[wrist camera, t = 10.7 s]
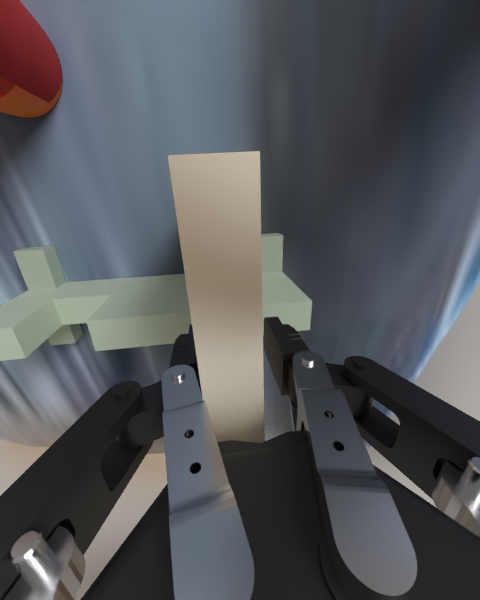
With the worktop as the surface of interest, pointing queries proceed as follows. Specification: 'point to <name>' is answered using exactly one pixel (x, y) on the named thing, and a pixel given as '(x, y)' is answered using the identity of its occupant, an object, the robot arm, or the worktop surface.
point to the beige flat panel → (224, 283)
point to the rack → (124, 305)
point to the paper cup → (26, 64)
